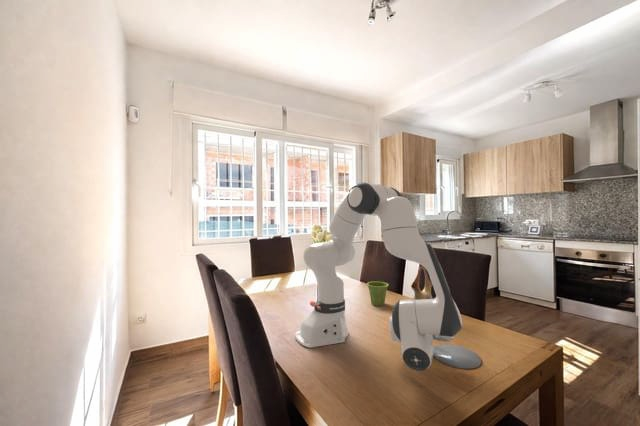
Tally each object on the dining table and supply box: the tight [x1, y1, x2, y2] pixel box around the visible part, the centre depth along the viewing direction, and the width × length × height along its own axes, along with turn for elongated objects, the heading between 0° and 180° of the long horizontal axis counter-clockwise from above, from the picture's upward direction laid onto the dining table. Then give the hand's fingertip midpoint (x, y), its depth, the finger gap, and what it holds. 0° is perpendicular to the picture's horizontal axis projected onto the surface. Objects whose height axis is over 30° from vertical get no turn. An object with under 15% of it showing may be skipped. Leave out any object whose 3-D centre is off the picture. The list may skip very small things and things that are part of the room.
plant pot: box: [366, 281, 389, 307], centre depth 147 cm, size 12×12×11 cm
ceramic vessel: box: [410, 265, 434, 300], centre depth 125 cm, size 16×9×25 cm, turn 127°
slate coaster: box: [433, 344, 482, 370], centre depth 91 cm, size 15×15×1 cm
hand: (419, 319), depth 97 cm, fingers closed on eye dropper bottle, 5 cm apart
